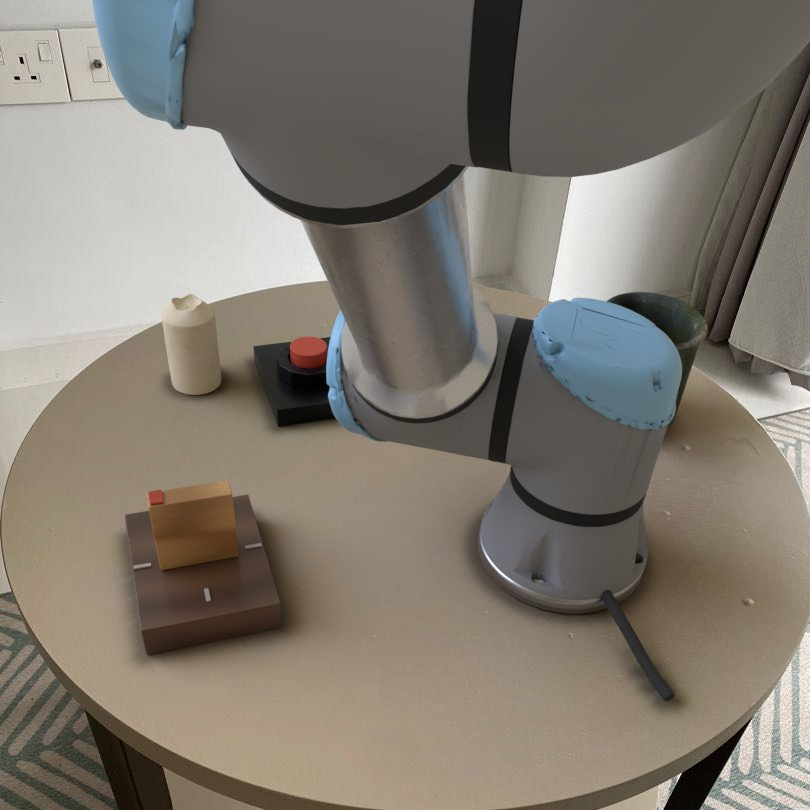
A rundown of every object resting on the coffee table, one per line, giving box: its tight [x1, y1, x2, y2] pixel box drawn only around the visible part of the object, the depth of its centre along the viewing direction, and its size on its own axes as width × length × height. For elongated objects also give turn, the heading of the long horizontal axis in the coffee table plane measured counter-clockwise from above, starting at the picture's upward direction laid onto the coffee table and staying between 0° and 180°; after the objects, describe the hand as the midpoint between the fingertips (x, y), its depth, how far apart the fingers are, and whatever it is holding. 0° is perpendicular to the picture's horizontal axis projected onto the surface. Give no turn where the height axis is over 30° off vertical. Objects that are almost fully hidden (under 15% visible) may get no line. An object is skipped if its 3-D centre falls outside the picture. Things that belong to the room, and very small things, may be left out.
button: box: [290, 336, 327, 368], centre depth 95 cm, size 4×4×2 cm
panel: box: [124, 494, 283, 656], centre depth 75 cm, size 14×11×3 cm
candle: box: [160, 293, 222, 396], centre depth 94 cm, size 6×6×10 cm
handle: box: [145, 480, 239, 570], centre depth 71 cm, size 6×2×7 cm, turn 108°
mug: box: [606, 291, 709, 431], centre depth 92 cm, size 11×15×12 cm
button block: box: [253, 336, 337, 428], centre depth 97 cm, size 13×10×4 cm
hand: (491, 162), depth 79 cm, fingers closed
